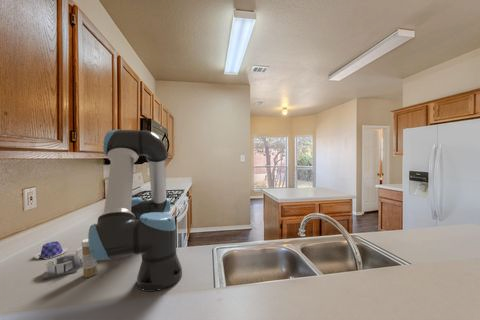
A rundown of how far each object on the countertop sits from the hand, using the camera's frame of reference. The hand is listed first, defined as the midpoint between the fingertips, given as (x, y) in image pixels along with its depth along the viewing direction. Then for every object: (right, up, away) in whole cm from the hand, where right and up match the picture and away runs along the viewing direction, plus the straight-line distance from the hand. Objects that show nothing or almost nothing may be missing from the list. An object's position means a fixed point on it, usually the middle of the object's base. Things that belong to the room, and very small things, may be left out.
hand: (93, 253), depth 83 cm
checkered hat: (-31, -8, +17) cm, 37 cm away
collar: (-13, -7, +2) cm, 15 cm away
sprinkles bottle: (+1, -7, -2) cm, 8 cm away
